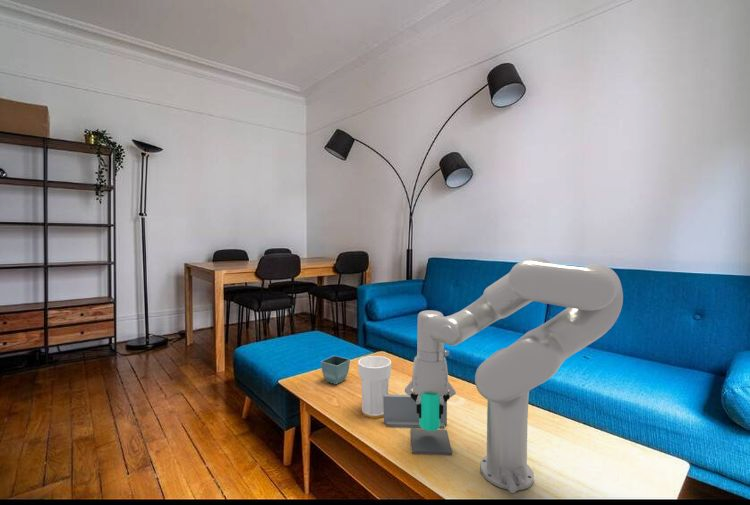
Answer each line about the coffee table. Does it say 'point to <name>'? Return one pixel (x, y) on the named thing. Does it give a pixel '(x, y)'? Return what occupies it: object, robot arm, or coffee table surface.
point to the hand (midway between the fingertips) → (429, 415)
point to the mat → (430, 442)
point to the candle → (430, 412)
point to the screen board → (405, 412)
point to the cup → (374, 384)
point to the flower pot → (335, 369)
